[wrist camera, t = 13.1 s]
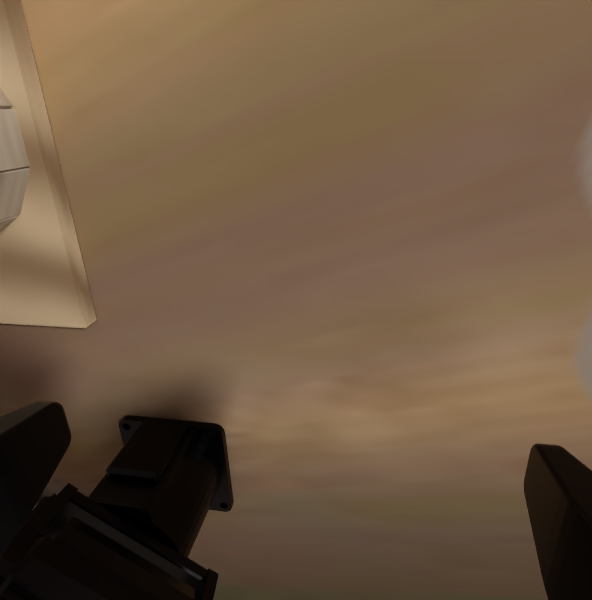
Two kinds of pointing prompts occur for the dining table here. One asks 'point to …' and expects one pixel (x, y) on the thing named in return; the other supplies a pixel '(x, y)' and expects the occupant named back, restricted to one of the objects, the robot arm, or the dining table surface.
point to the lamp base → (33, 198)
